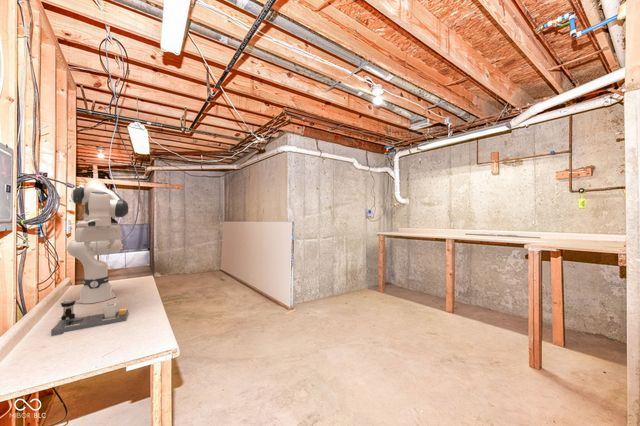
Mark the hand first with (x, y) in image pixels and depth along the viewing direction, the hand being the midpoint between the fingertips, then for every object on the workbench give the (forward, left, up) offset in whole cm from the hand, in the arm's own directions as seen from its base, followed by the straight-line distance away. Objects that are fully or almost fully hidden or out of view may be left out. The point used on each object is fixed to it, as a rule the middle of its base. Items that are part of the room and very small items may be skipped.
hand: (100, 249), depth 132 cm
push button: (-6, -14, -35) cm, 39 cm away
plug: (+9, +5, -35) cm, 36 cm away
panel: (+9, -1, -35) cm, 36 cm away
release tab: (+9, +10, -34) cm, 36 cm away
